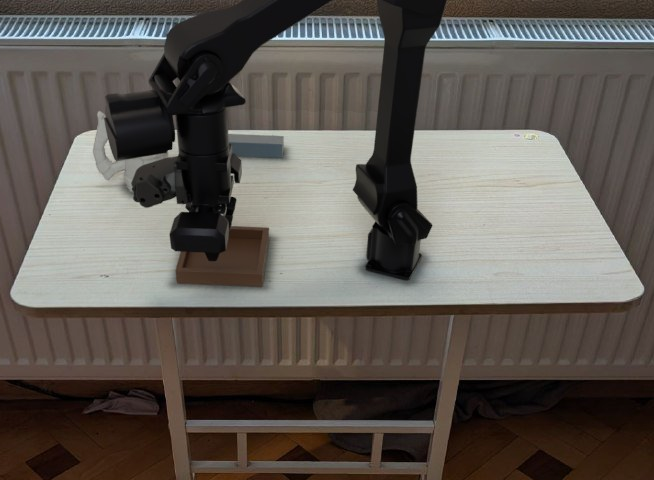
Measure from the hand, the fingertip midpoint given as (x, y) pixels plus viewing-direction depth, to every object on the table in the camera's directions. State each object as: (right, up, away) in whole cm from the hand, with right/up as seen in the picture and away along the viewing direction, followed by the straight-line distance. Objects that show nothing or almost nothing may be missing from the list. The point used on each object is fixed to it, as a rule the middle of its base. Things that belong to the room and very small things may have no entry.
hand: (212, 259), depth 105 cm
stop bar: (+1, +24, +35) cm, 43 cm away
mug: (-15, +16, +27) cm, 35 cm away
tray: (0, +2, +12) cm, 12 cm away
